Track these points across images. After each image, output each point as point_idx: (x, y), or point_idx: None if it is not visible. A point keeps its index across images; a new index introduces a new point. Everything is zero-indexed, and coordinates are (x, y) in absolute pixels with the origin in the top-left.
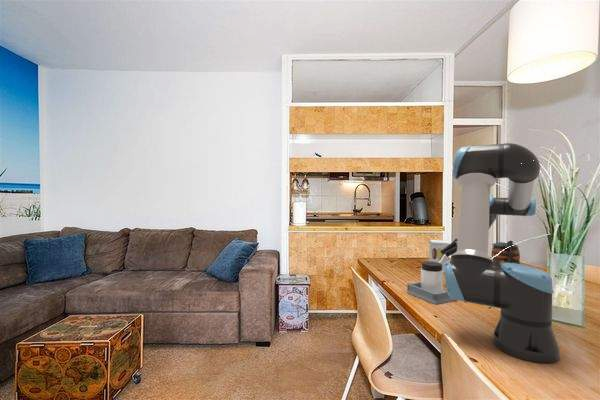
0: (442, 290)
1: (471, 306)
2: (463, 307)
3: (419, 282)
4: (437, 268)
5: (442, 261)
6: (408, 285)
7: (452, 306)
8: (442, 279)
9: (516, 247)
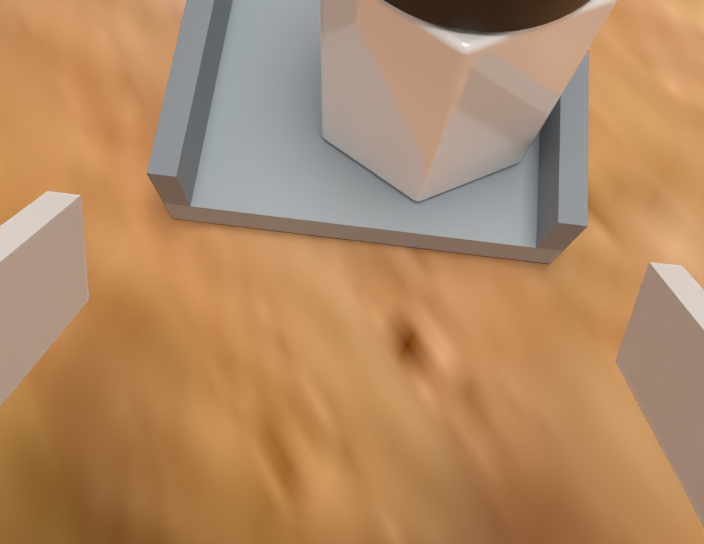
0: (321, 123)
1: (9, 135)
2: (47, 58)
3: None
4: None
5: (689, 363)
6: None
7: (121, 8)
8: (320, 40)
9: None
